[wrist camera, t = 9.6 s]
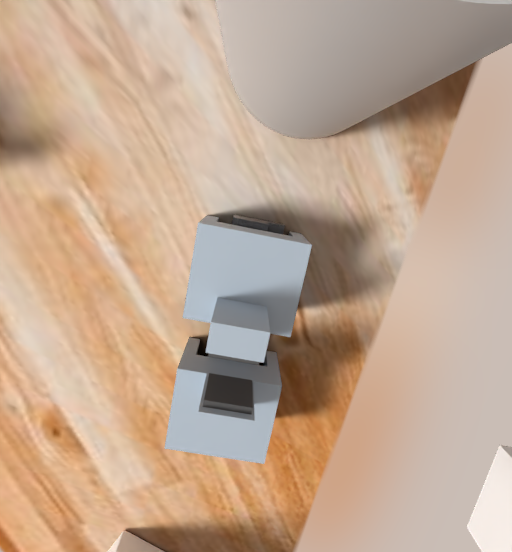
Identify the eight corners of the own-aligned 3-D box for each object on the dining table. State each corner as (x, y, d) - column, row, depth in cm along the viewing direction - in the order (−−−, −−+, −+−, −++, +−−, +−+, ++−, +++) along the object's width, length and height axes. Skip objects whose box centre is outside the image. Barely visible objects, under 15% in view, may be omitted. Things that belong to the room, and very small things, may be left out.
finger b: (207, 215, 33) (187, 232, 22) (300, 233, 33) (325, 259, 22) (193, 299, 34) (168, 354, 24) (282, 316, 35) (297, 376, 24)
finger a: (190, 332, 35) (164, 398, 24) (277, 347, 36) (290, 419, 25) (177, 405, 37) (148, 498, 26) (261, 419, 37) (266, 515, 27)
